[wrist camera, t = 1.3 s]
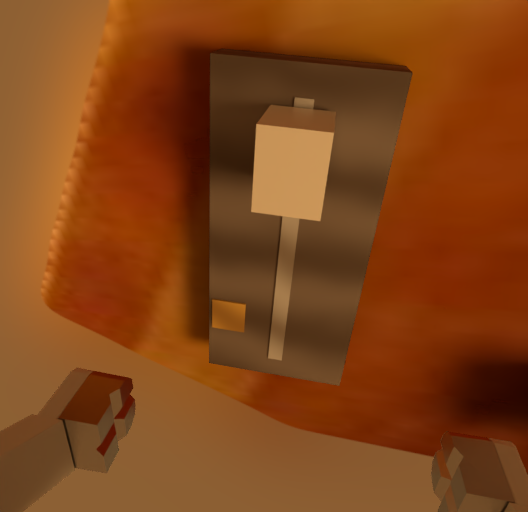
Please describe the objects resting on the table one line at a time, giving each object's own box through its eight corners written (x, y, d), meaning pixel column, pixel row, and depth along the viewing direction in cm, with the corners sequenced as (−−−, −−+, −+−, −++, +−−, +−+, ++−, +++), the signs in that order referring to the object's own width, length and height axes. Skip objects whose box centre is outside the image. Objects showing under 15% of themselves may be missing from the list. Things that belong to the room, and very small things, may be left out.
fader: (270, 104, 26) (256, 124, 22) (335, 111, 26) (334, 132, 21) (265, 181, 29) (251, 211, 24) (324, 188, 28) (320, 221, 24)
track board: (222, 48, 28) (209, 53, 25) (406, 66, 27) (412, 72, 24) (217, 340, 42) (208, 364, 39) (339, 361, 40) (339, 386, 38)
